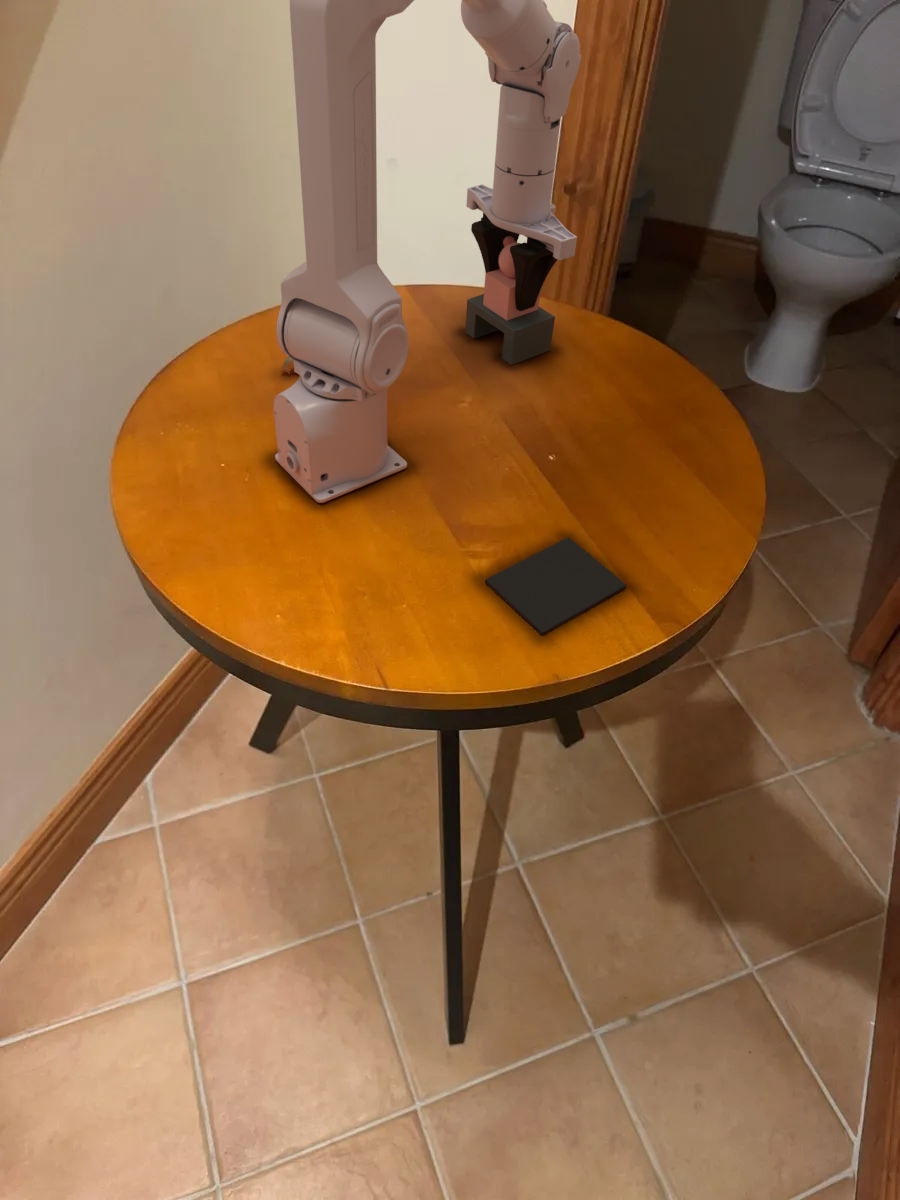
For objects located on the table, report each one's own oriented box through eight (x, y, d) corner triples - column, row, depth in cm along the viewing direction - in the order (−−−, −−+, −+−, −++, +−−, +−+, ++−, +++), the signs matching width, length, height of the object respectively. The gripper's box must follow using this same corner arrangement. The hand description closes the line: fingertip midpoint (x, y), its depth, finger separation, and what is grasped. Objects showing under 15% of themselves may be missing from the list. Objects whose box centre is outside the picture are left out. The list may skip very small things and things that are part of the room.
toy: (506, 321, 94) (512, 254, 89) (482, 305, 96) (487, 238, 91) (538, 309, 96) (546, 243, 91) (514, 294, 98) (520, 228, 93)
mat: (542, 635, 69) (542, 632, 69) (484, 582, 73) (485, 579, 72) (626, 588, 73) (627, 584, 73) (567, 540, 77) (568, 536, 76)
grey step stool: (511, 365, 96) (514, 331, 93) (465, 332, 100) (467, 299, 97) (550, 350, 98) (555, 316, 95) (503, 319, 102) (507, 285, 100)
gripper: (608, 182, 84) (586, 317, 93) (508, 133, 91) (497, 262, 101) (551, 198, 80) (534, 336, 90) (453, 146, 88) (447, 278, 98)
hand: (511, 298), depth 95 cm, fingers closed on toy, 4 cm apart
